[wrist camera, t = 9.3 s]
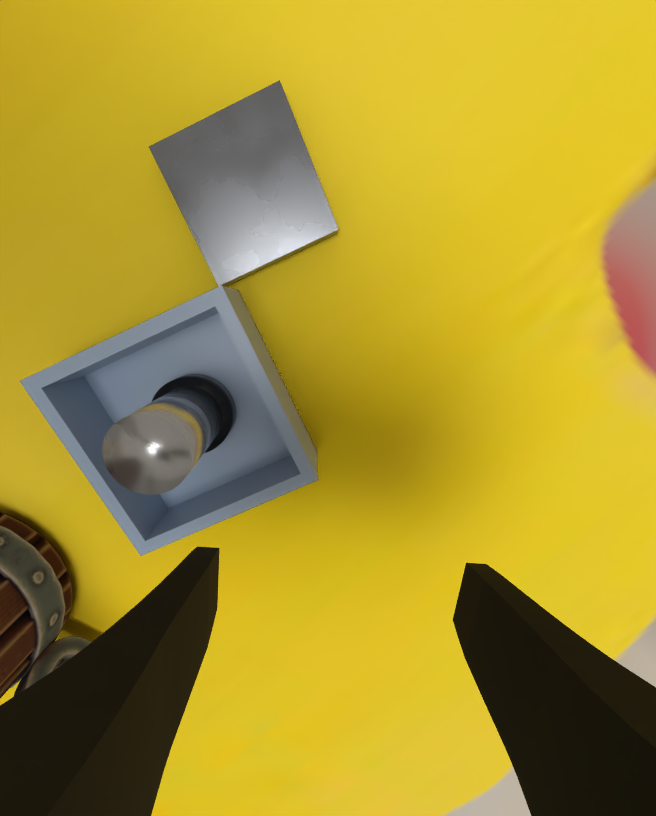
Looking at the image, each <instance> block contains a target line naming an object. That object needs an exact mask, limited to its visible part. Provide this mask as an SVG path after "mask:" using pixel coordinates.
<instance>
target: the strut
mask: <svg viewBox="0 0 656 816" xmlns="http://www.w3.org/2000/svg"><path fill="white" fill-rule="evenodd" d="M235 419H236V406H235V402H234V399H233V397H232V395H231V393H230V392H229V390H228V389H227V388H226V387H225V386H224V385H223V384H222V383H221V382H219V381H218V380H216V379H214V378H213V377H210V376H207V375H203V374H187V375H183V376H181V377H178V378H176V379H174V380H172V381H170V382H168V383H166V384H165V385H163V386H162V387H161V388H160V389H159V390H158V391H157V392H156V394H155V395H154V397H153V399H152V402H151V403H149V404H147V405H146V406H144V407H142V408H140V409H138V410H137V411H135V412H133V413H131V414H130V415H128V416H126V417H124V418H122V419H121V420H119V421H117V422H116V423H115V424H114V425H113V426H112V427H111V428H110V429H109V430H108V432H107V433H106V436H105V438H104V441H103V446H102V455H103V460H104V463H105V466H106V468H107V470H108V471H109V473H110V474H111V476H112V477H113V478H114V479H115V480H116V481H117V482H118V483H119V484H121V485H122V486H124V487H125V488H127V489H129V490H131V491H133V492H136V493H140V494H147V495H156V494H162V493H166V492H168V491H171V490H172V489H174V488H176V487H177V486H178V485H179V484H180V483H181V482H182V481H183V480H184V479H185V478H186V476H187V475H188V474H189V472H190V471H191V470H192V468H193V467H194V466H195V464H196V463H197V462H198V460H199V459H200V458H201V456H202V455H203V454H204V453H207V452H209V451H212V450H213V449H215V448H217V447H218V446H219V445H220V444H221V443H222V442H223V441H224V440H225V438H226V437H227V435H228V434H229V432H230V431H231V429H232V427H233V425H234V423H235Z"/></svg>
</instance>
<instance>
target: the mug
mask: <svg viewBox="0 0 656 816" xmlns="http://www.w3.org/2000/svg"><path fill="white" fill-rule="evenodd" d="M72 597H73V595H72V586H71V581H70V578H69V575H68V572H67V569H66V567H65V565H64V563H63V562H62V560H61V558H60V556H59V554H58V552H57V551H56V550H55V549H54V548H53V547H52V546H51V544H50V543H49V542H48V541H47V540H46V539H45V537H43V536H42V535H41V534H39V533H38V532H37V531H35V530H34V529H32V528H31V527H30V526H28V525H27V524H26V523H23V522H21V521H19V520H17V519H15V518H12V517H10V516H8V515H6V514H3V513H0V698H1V697H2V696H3V695H4V694H5V693H6V691H7V690H8V689H9V688H11V687H13V686H14V685H15V684H16V683H17V682H18V681H19V680H20V679H21V681H20V682H19V685H18V687H17V689H16V691H15V694H14V696H16V695H17V694H19V693H20V692H22V691H23V690H25V689H26V688H28V687H29V686H31V685H32V684H34V683H35V682H37V681H38V680H40V679H41V678H43V677H44V676H46V675H47V674H49V673H51V672H52V671H53V670H55V669H56V668H58V667H59V666H61V665H62V664H63V663H65V662H66V661H68V660H69V659H70V658H72V657H73V656H74V655H76V654H77V653H78V652H80V651H81V650H82V649H84V648H85V647H86V646H88V645H89V644H90V643H91V642H90V641H88V640H86V639H84V638H82V637H72V636H69V637H65V638H62V639H59V640H57V641H55V640H56V638H57V636H58V634H59V632H60V631H61V629H62V628H63V626H64V625H65V623H66V621H67V613H68V612H69V611H70V610H71V607H72Z"/></svg>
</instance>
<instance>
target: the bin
mask: <svg viewBox="0 0 656 816" xmlns="http://www.w3.org/2000/svg"><path fill="white" fill-rule="evenodd" d="M187 374H203V375H207V376H210V377H213V378H214V379H216V380H218V381H219V382H221V383H222V384H223V385H224V386H225V387H226V388H227V389H228V390H229V392H230V393H231V395H232V397H233V399H234V402H235V406H236V419H235V423H234V425H233V427H232V429H231V431H230V432H229V434H228V435H227V437H226V438H225V440H224V441H223V442H222V443H221V444H220V445H219V446H218V447H217V448H215V449H213V450H212V451H209V452H207V453H204V454H203V455H202V456H201V458H200V459H199V460H198V462H197V463H196V464H195V466H194V467H193V468H192V470H191V471H190V472H189V474H188V475H187V476H186V478H185V479H184V480H183V481H182V482H181V483H180V484H179V485H178V486H177V487H176V488H174V489H172V490H171V491H168V492H166V493H162V494H156V495H147V494H140V493H136V492H133V491H131V490H129V489H127V488H125V487H124V486H122V485H121V484H119V483H118V482H117V481H116V480H115V479H114V478H113V477H112V476H111V474H110V473H109V471H108V470H107V468H106V466H105V463H104V460H103V455H102V446H103V441H104V438H105V436H106V433H107V432H108V430H109V429H110V428H111V427H112V426H113V425H114V424H115V423H116V422H117V421H119V420H121V419H122V418H124V417H126V416H128V415H130V414H131V413H133V412H135V411H137V410H138V409H140V408H142V407H144V406H146V405H147V404H149V403H151V402H152V399H153V397H154V395H155V394H156V392H157V391H158V390H159V389H160V388H161V387H162V386H163V385H165V384H166V383H168V382H170V381H172V380H174V379H176V378H178V377H181V376H183V375H187ZM20 382H21V384H22V385H23V387H24V388H25V390H26V391H27V392H28V394H29V395H30V397H31V398H32V400H33V401H34V403H35V404H36V405H37V407H38V408H39V410H40V411H41V413H42V414H43V416H44V417H45V418H46V420H47V421H48V423H49V424H50V426H51V427H52V429H53V430H54V431H55V433H56V434H57V436H58V437H59V439H60V440H61V441H62V443H63V444H64V446H65V447H66V449H67V450H68V452H69V453H70V454H71V456H72V457H73V459H74V460H75V462H76V463H77V465H78V466H79V467H80V469H81V470H82V472H83V473H84V475H85V476H86V478H87V479H88V480H89V482H90V483H91V485H92V486H93V488H94V489H95V491H96V492H97V493H98V495H99V496H100V498H101V499H102V501H103V502H104V504H105V505H106V506H107V508H108V509H109V511H110V512H111V514H112V515H113V517H114V518H115V519H116V521H117V522H118V524H119V525H120V527H121V528H122V530H123V531H124V532H125V534H126V535H127V537H128V538H129V540H130V541H131V543H132V544H133V545H134V547H135V548H136V550H137V551H138V553H139V554H140V555H141V556H142V555H144V554H146V553H149V552H151V551H153V550H156V549H158V548H160V547H163V546H165V545H167V544H170V543H172V542H174V541H177V540H179V539H181V538H184V537H186V536H188V535H191V534H193V533H195V532H198V531H200V530H202V529H205V528H207V527H209V526H211V525H214V524H216V523H218V522H221V521H223V520H225V519H228V518H230V517H232V516H235V515H237V514H239V513H242V512H244V511H246V510H249V509H251V508H253V507H256V506H258V505H260V504H263V503H265V502H267V501H270V500H272V499H274V498H277V497H279V496H281V495H284V494H286V493H288V492H291V491H293V490H295V489H298V488H300V487H302V486H305V485H307V484H309V483H312V482H314V481H316V480H318V463H317V450H316V448H315V446H314V444H313V442H312V440H311V438H310V436H309V434H308V432H307V430H306V428H305V426H304V424H303V422H302V420H301V417H300V415H299V413H298V411H297V409H296V407H295V405H294V403H293V401H292V399H291V397H290V395H289V393H288V391H287V389H286V387H285V385H284V383H283V381H282V378H281V376H280V374H279V372H278V370H277V368H276V366H275V364H274V362H273V360H272V358H271V356H270V354H269V352H268V350H267V348H266V346H265V344H264V342H263V340H262V337H261V335H260V333H259V331H258V329H257V327H256V325H255V323H254V321H253V319H252V317H251V315H250V313H249V311H248V309H247V307H246V305H245V303H244V301H243V298H242V296H241V294H240V292H239V290H236V289H232V288H229V287H226V286H222V285H221V286H219V287H217V288H215V289H213V290H211V291H209V292H206V293H204V294H202V295H200V296H198V297H196V298H194V299H192V300H190V301H187V302H185V303H183V304H181V305H179V306H177V307H175V308H173V309H171V310H168V311H166V312H164V313H162V314H160V315H158V316H156V317H154V318H152V319H149V320H147V321H145V322H143V323H141V324H139V325H137V326H135V327H133V328H131V329H128V330H126V331H124V332H122V333H120V334H118V335H116V336H114V337H112V338H109V339H107V340H105V341H103V342H101V343H99V344H97V345H95V346H93V347H90V348H88V349H86V350H84V351H82V352H80V353H78V354H76V355H74V356H71V357H69V358H67V359H65V360H63V361H61V362H59V363H57V364H55V365H53V366H50V367H48V368H46V369H44V370H42V371H40V372H38V373H36V374H34V375H31V376H29V377H27V378H25V379H23V380H21V381H20Z"/></svg>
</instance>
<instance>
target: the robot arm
mask: <svg viewBox="0 0 656 816" xmlns="http://www.w3.org/2000/svg"><path fill="white" fill-rule="evenodd" d="M218 571H219V548H209V547H196V548H195V549H194V550H193V551H192V552H191V553H190V554H189V555H188V556H187V557H186V558H185V559H184V560H183V561H182V562H181V563H180V564H179V565H178V566H177V567H176V568H175V569H174V570H173V571H172V572H171V573H170V574H169V575H168V576H167V577H166V578H165V579H164V580H163V581H162V582H161V583H160V584H159V585H158V586H157V587H155V588H154V589H153V590H152V591H151V592H150V593H149V594H148V595H147V596H146V597H145V598H144V599H143V600H142V601H140V602H139V603H138V604H137V605H136V606H135V607H134V608H132V609H131V610H130V611H129V612H128V613H127V614H125V615H124V616H123V617H122V618H121V619H120V620H118V621H117V622H116V623H115V624H114V625H113V626H111V627H110V628H109V629H108V630H107V631H105V632H104V633H103V634H102V635H100V636H99V637H98V638H97V639H95V640H94V641H93V642H92V643H90V644H89V645H88V646H86V647H85V648H84V649H82V650H81V651H80V652H78V653H77V654H76V655H74V656H73V657H72V658H70V659H69V660H68V661H66V662H65V663H63V664H62V665H61V666H59V667H58V668H56V669H55V670H53V671H52V672H51V673H49V674H47V675H46V676H44V677H43V678H41V679H40V680H38V681H37V682H35V683H34V684H32V685H31V686H29V687H28V688H26V689H25V690H23V691H22V692H20V693H19V694H17V695H16V696H14V697H13V698H11V699H10V700H8V701H7V702H5V703H4V704H2V705H0V816H151V814H152V810H153V807H154V803H155V800H156V796H157V792H158V789H159V785H160V782H161V778H162V775H163V771H164V768H165V765H166V762H167V759H168V756H169V753H170V750H171V747H172V744H173V741H174V738H175V735H176V733H177V730H178V727H179V724H180V722H181V719H182V716H183V713H184V711H185V708H186V705H187V702H188V700H189V697H190V694H191V691H192V689H193V686H194V683H195V681H196V678H197V675H198V672H199V669H200V667H201V664H202V661H203V658H204V655H205V653H206V650H207V647H208V643H209V639H210V635H211V631H212V627H213V623H214V619H215V615H216V611H217V600H218ZM453 622H454V625H455V628H456V632H457V635H458V638H459V641H460V644H461V647H462V650H463V653H464V656H465V659H466V661H467V664H468V666H469V668H470V671H471V673H472V675H473V677H474V680H475V682H476V684H477V686H478V689H479V691H480V693H481V695H482V697H483V700H484V702H485V704H486V706H487V708H488V711H489V713H490V715H491V717H492V720H493V722H494V724H495V726H496V728H497V731H498V733H499V735H500V737H501V739H502V742H503V744H504V746H505V748H506V751H507V753H508V755H509V758H510V760H511V762H512V765H513V767H514V770H515V772H516V774H517V777H518V780H519V783H520V785H521V788H522V791H523V794H524V796H525V799H526V802H527V804H528V807H529V810H530V813H531V816H656V688H655V687H654V686H652V685H651V684H649V683H648V682H646V681H645V680H643V679H642V678H640V677H639V676H637V675H636V674H634V673H632V672H631V671H629V670H628V669H626V668H625V667H623V666H622V665H620V664H619V663H617V662H616V661H614V660H613V659H611V658H610V657H608V656H607V655H605V654H604V653H603V652H601V651H600V650H598V649H597V648H596V647H594V646H593V645H591V644H590V643H589V642H587V641H586V640H585V639H583V638H582V637H580V636H579V635H578V634H576V633H575V632H574V631H572V630H571V629H570V628H568V627H567V626H566V625H564V624H563V623H562V622H560V621H559V620H558V619H556V618H555V617H554V616H552V615H551V614H550V613H549V612H547V611H546V610H545V609H543V608H542V607H541V606H540V605H538V604H537V603H536V602H535V601H533V600H532V599H531V598H530V597H528V596H527V595H526V594H525V593H523V592H522V591H521V590H519V589H518V588H517V587H516V586H514V585H513V584H512V583H511V582H509V581H508V580H507V579H506V578H504V577H503V576H502V575H500V574H499V573H498V572H496V571H495V570H494V569H492V568H491V567H489V566H488V565H487V564H475V563H466V566H465V570H464V575H463V579H462V583H461V587H460V592H459V596H458V600H457V604H456V609H455V613H454V617H453Z"/></svg>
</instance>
